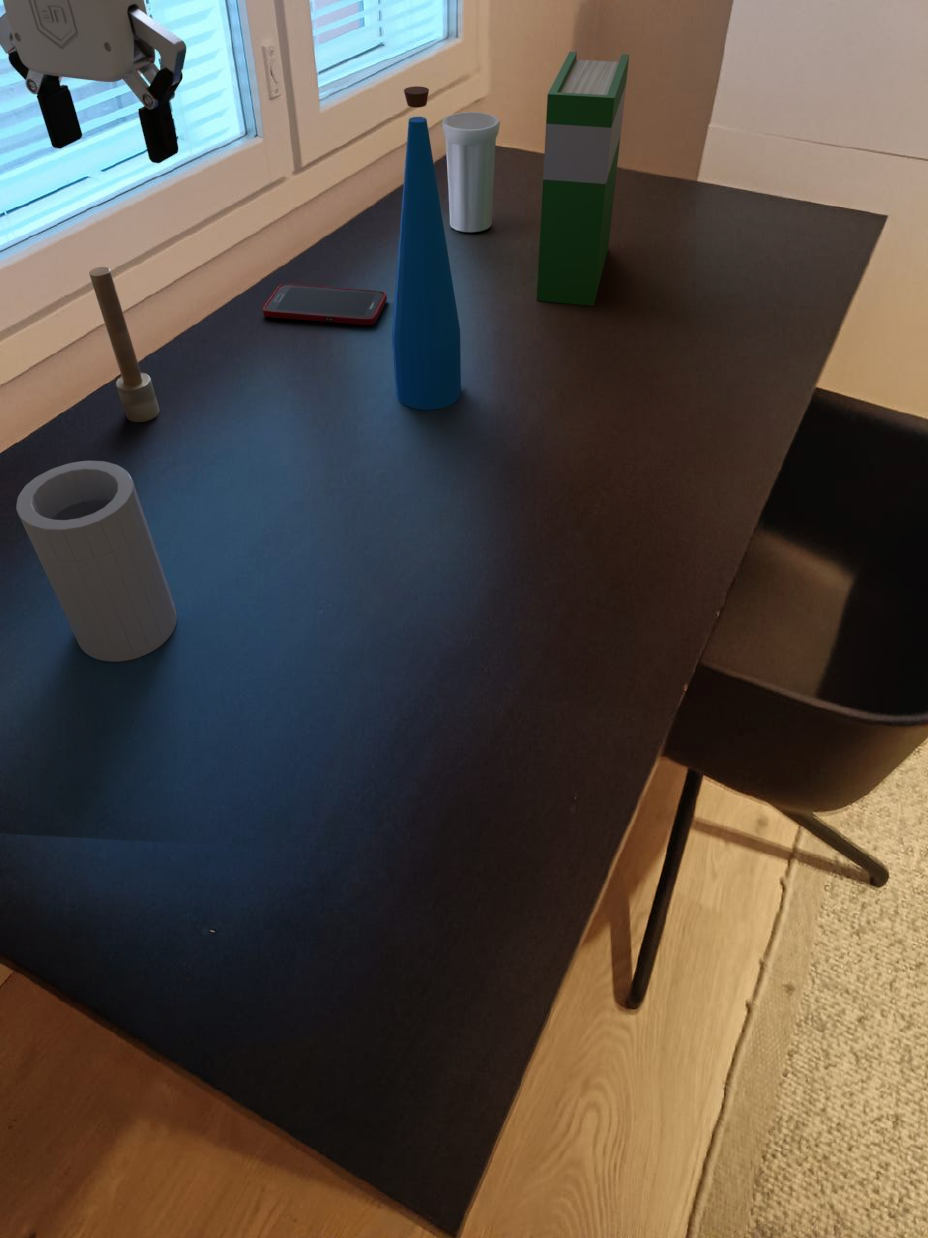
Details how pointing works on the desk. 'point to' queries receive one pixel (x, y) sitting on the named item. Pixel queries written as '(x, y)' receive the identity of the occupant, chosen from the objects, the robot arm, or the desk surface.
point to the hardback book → (579, 177)
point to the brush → (124, 352)
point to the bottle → (424, 282)
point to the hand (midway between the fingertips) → (115, 150)
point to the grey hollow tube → (99, 558)
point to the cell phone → (325, 304)
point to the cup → (470, 168)
